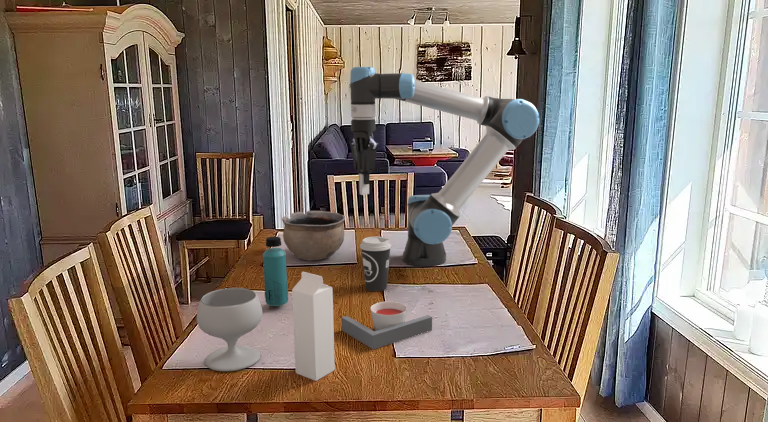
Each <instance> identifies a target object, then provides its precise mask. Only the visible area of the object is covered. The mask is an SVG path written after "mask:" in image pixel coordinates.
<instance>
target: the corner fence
mask: <svg viewBox="0 0 768 422" xmlns="http://www.w3.org/2000/svg"><path fill="white" fill-rule="evenodd" d="M430 330H431V331H432V330H433V317H432V316H430V315H429V314H426V315H423V316H420V317H417V318H415V319H411V320H407V321H405V322H404V323H401V324H397V325H394V326H391V327H388V328H384V329H381V330H378V331H375V330H373V329H371V328H370V327H367V326H366V325H364V324H362V323H361V322H359V321H357V320H356V319H353V318H352V317H350V316H348V315H345V316H342V317H341V331H342V332H344V333H345V334H347V335H349V336H350V337H352V338H354V339H355V340H357V341H358V342H360V343H362V345H364V346H366V347H368V348H370V349H371V350H376V349H379V348H381V347H385V346H389V345H391V344H395V343H397V341H398V342H400V341H399V340H401V341H403V340H402V339H404V340H406V339H405V338H407V339H409V337H410V338H412V336H413V337H416V336H418V334H419V335H421V333H422V334H425V333H427V331H428V332H431V331H430ZM424 332H425V333H424ZM415 335H416V336H415ZM394 342H395V343H394Z"/></svg>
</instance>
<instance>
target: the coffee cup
mask: <svg viewBox="0 0 768 422" xmlns="http://www.w3.org/2000/svg"><path fill="white" fill-rule="evenodd" d="M359 248H360V250H361V257H362V265H363V267H362V268H363V273H364V274H363V276H364V285H365V289H366V290H367V291H369V292H383V291H385V290H387V289H388V280H389V266H390V255H391V254H390V253H391V249H392V243H391V242H390V239H389V238H387V237H384V236H368V237H365V238H363V239H362V241H361V243H360V245H359Z"/></svg>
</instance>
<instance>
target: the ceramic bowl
mask: <svg viewBox="0 0 768 422" xmlns="http://www.w3.org/2000/svg"><path fill="white" fill-rule="evenodd" d="M281 220H282V223H283V225H284V226H283V232H282V238H283V242H284V244H285V245H286V247H287V249H288V251H290V252H291V254H293V255H294V256H295V257H296V258H299V259H301V260H304V261H318V260H319V261H321V260H324V259H328V258H330V257H331V256H333V255H334V254H335V253H336V252H337V251H338V250H340V248H341V246H342V245H343V243H344V239H345V227H344V222H345V221H346V217H345V215H344V214H340V213H338V212H333V211H324V210H307V211H306V212H305V213H304V212H302V211H297V212H292V213H291V214H290V218H289V217H287V216H286V215H285V216H283V217H282V218H281Z"/></svg>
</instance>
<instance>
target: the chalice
mask: <svg viewBox="0 0 768 422" xmlns="http://www.w3.org/2000/svg"><path fill="white" fill-rule="evenodd" d="M262 318H263V308H262V304H261V300H260V298H259V296H258V295H257V293H256V292H255V291H254V290H252V289H248V288H246V287H245V288H244V287H228V288H220V289H216V290H213V291H210V292H207V293H206V294H205V295H202V298H201V299H200V301H199V303H198V307H197V312H196V323H197V326H198V327H199V328H200V330H201V331H202V332H203V333H204V334H206V335H208V336H210V337H211V336H212V337H214V338H218V339H222V340H224V342H226V344H227V347H223V348H219V349H216V350H215V351H213V352H211V353H210V354H209V355H207V357H205V359H204V364H205V366H206V367H207V368H208V369H210V370H213V371H219V372H234V371H235V372H236V371H240V370H244V369H247V368H249V367H252V366H253V365H255V364H256V363H258V361H259V360H260V358H261V352H260V351H259V350H258V349H257V348H254V347H251V346H248V345H247V346H246V345H237V344H238V343H237V342H238V340H239V339H240V338H241V337H243V336H245V335H247V334H248V333H251V332H252V331H253V330H255V328H257V327H258V325H259V324H260V323H261V321H262Z"/></svg>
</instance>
